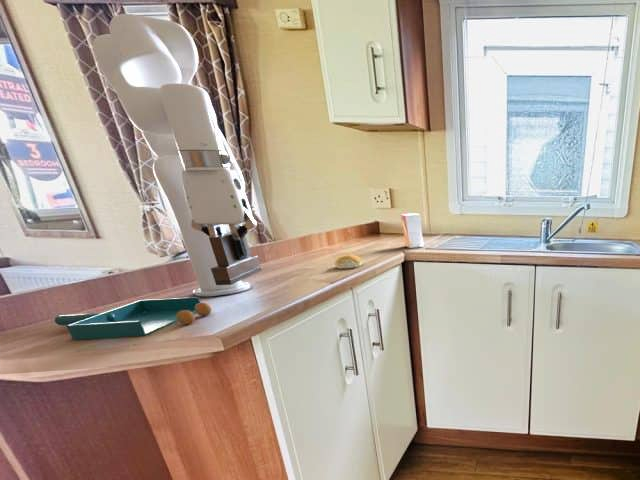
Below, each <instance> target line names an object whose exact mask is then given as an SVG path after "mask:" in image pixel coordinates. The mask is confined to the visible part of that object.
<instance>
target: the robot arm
mask: <svg viewBox="0 0 640 480" xmlns="http://www.w3.org/2000/svg"><path fill="white" fill-rule="evenodd" d="M92 50H93V54H94V57H95V60H96V62H97V65H98V67H99V69H100V71H101V73H102V74H103V76H104V78H105V79H106V81H107V83H108V84H109V85H110V87H111V89H112V90H113V91H114V92H115V93H116V95H117V98H118V100H119V102H120V104H121V106H122V108H123V110H124V112H125V113H126V116H127V117H128V119H129V120H130V122H131V124H133V126H134V127H135V128H137V129H138V130H139V131H140V132H141V134H142V136H143V139H144V140H145V142H146V145H148V147H149V149H150V151H151V152H152V153H153V154H154V155H155V156H156V159H155V160H154V162H153V165H152V172H153V174H154V177H155V179H156V181H157V184H158V185H159V187H160V189H161V191H162V193H163V195H164V197H165V199H166V201H167V204H168V205H169V208H170V210H171V212H172V214H173V215H172V216H173V217H174V220H175V222H176V225H177V228H178V231H179V233H180V236H181V237H180V238H181V239H182V242H183V245H184V248H185V251H186V253H187V256H188V259H189V261H190V265H191V268H192V270H193V273H194V275H195V278H196V281H197V284H198V287H197V288H195V289H193V294H194V296H195V297H217V296H218V297H219V296H227V295H232V294H237V293H241V292H244V291H247V290H250V289H251V285H250V283H249V282H247V281H242V280H241V281H238V282H236V283H234V284H232V285H216V283H215V280H214V277H213V274H212V271H211V268H213V267H216V266H218V265H217V261H216V258H215V255H214V252H213V249H212V246H211V243H210V240H209V237H213V236H217V235H221V234H225V233H228V231H227V229H226V225H228V227H229V230H230V232H231V234H232V237H233V241H232V245H233V249H234V252H235V255H236V259H237V260H243V259H246V258H247V250H246V247H245V243H244V240H243V239H244V238H245V236H247V234H248V232H249V231H250V230H253V229H254V228H257V227H258V222H257V221H256V219H254V217H253V212H252V208H251V205H250V202H249V199H248V196H247V194H246V182H245V178H244V176H243V173H242V170H241V168H240V166H239V164H238V162H237V160H236V158H235V156H234V154H233V152H232V150H231V148H230V145H229V144H228V141H227V139H226V138H225V136H224V134H223V133H222V130H221V129H220V128H219V126H218V119H217V115H216V112H215V109H214V107H213V105H212V100H211V98H210V95H209V93H208V92H207V90H206V89H204V88H203V87H201V86H198V85H194V84H191V82H192V80H193V78H194V76H195V74H196V73H197V70H198V68H199V54H198V49H197V46H196V43H195V41H194V39H193V37H192V36H191V34H190V33H189V32H188V30H187V29H186V28H185V27H184V26H182V25H181V24H180V23H178V22H175V21H173V20H168V19H163V18H162V19H161V18H156V17H150V16H146V15H145V16H144V15H140V14H132V13H120V14H117V15H115V16H114V17H112V18H111V20H110V23H109V33H104V34H100V35H98V36H96V37H95V38H94V39H93V42H92ZM242 223H244V224H243V225H242Z"/></svg>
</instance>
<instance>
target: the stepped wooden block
mask: <svg viewBox="0 0 640 480" xmlns="http://www.w3.org/2000/svg"><path fill="white" fill-rule="evenodd" d="M209 240H210V243H211V246H212V249H213V252H214V255H215V258H216V261H217V265H218V266H216V267H213V268H211V271H212V274H213V277H214V280H215V283H216V285H232V284H234V283H236V282H238V281H242V280H245V279H247V278H249V277H251V276H253V275H256V274H257V273H259V272H262V267H261V263H260V260H259V257H258V255H252V253H251V250H250V247H249V244H248V240H247V235H245V238H244V239H243V240H244V243H245V247H246V250H247V258H246V259H243V260H237V259H236V255H235V252H234V249H233V245H232V241H233V237H232V234H231V231H230V232H227V233H225V234H221V235H217V236H213V237H209Z"/></svg>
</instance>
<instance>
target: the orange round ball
mask: <svg viewBox="0 0 640 480" xmlns="http://www.w3.org/2000/svg"><path fill="white" fill-rule="evenodd" d="M200 302H201V301H200ZM195 311H196V312H195V313H196V314H197V315H198V316H202V317H206V316H209V315H210V314H211V312H212V307H211V305H209V304H208V303H206V302H201V303H198V304H196V306H195Z"/></svg>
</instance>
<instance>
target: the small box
mask: <svg viewBox="0 0 640 480" xmlns="http://www.w3.org/2000/svg"><path fill="white" fill-rule="evenodd" d="M400 218H401V225H402V232H403V233H402V234H403V239H404V247H407V248H409V249H415V248H423V247H425V244H424V236H423V229H422V221H421V214H420V213H404V214H400Z"/></svg>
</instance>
